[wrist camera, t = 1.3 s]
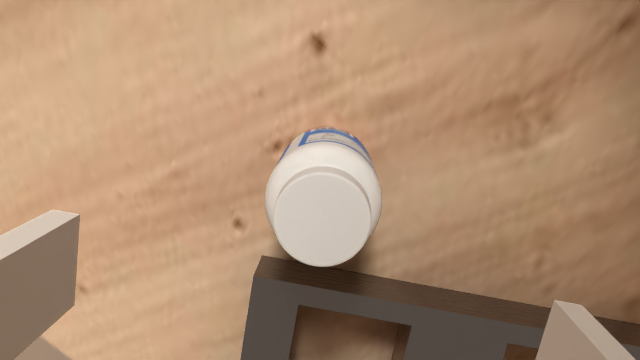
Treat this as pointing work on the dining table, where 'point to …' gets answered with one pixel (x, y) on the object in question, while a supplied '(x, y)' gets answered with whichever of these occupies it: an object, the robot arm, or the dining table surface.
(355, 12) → the dining table surface
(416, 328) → the grey bottle holder tray
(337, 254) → the pill bottle
